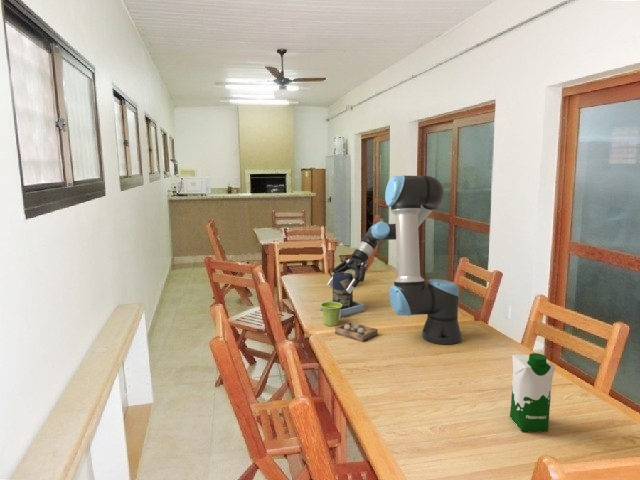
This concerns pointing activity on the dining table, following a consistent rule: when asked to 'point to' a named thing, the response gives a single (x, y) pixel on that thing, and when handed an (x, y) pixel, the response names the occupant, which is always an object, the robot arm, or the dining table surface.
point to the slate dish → (349, 309)
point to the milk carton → (531, 391)
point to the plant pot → (331, 312)
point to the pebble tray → (356, 331)
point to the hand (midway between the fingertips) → (338, 288)
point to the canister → (342, 289)
